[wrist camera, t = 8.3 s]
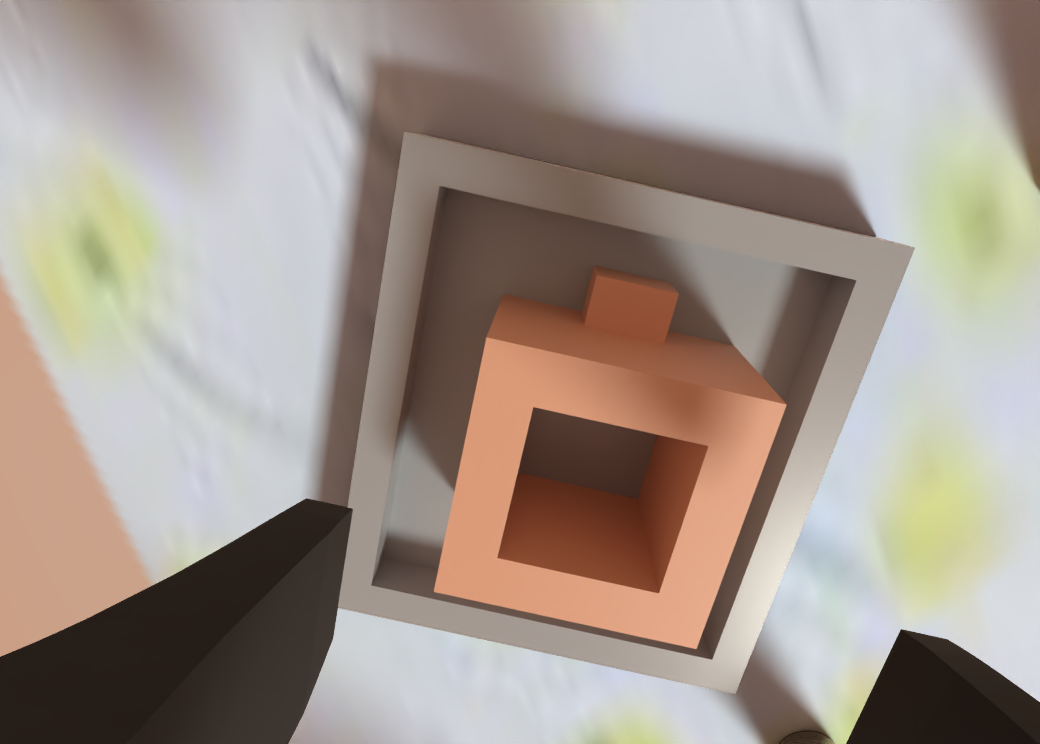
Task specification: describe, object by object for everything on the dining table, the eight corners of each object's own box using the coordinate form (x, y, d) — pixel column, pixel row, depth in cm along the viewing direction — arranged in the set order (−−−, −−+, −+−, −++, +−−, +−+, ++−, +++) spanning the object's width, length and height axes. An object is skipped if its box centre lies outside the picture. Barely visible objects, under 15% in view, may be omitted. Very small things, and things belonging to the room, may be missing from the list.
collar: (667, 544, 16) (696, 649, 13) (460, 499, 16) (433, 591, 12) (749, 300, 14) (808, 346, 11) (513, 246, 14) (498, 277, 11)
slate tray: (720, 649, 17) (735, 694, 16) (351, 568, 17) (332, 606, 16) (877, 237, 14) (914, 247, 12) (419, 133, 14) (403, 131, 12)
